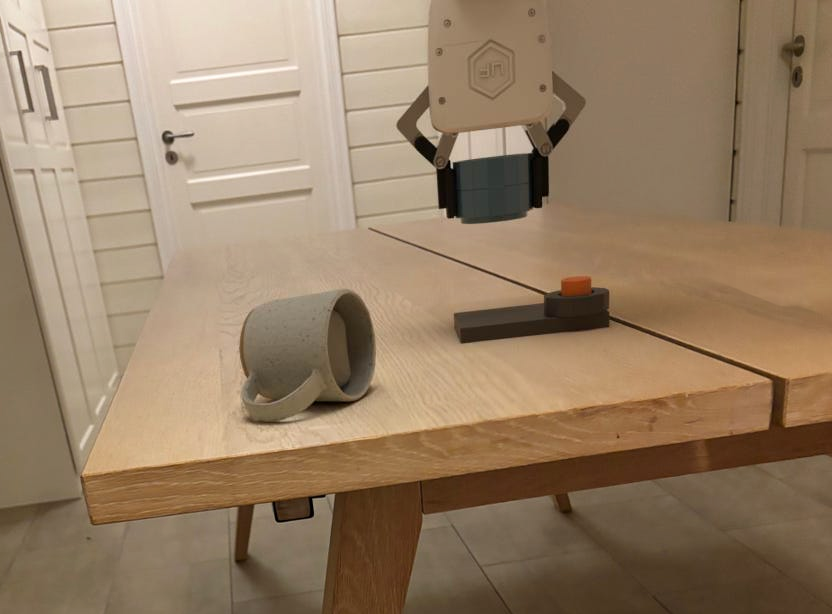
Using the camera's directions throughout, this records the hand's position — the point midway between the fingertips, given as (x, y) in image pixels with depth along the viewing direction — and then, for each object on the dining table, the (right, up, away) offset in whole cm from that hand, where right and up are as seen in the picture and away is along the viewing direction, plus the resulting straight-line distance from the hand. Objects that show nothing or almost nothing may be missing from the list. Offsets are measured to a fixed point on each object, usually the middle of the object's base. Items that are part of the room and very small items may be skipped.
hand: (493, 210), depth 85 cm
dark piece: (+4, -9, +3) cm, 11 cm away
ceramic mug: (-16, -21, -14) cm, 30 cm away
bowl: (0, -1, 0) cm, 1 cm away
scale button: (+7, -8, 0) cm, 11 cm away
